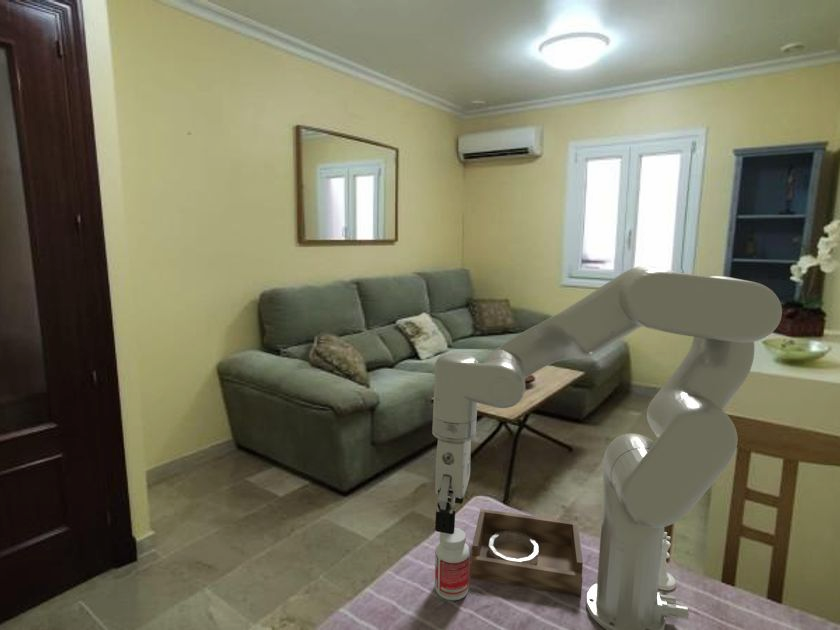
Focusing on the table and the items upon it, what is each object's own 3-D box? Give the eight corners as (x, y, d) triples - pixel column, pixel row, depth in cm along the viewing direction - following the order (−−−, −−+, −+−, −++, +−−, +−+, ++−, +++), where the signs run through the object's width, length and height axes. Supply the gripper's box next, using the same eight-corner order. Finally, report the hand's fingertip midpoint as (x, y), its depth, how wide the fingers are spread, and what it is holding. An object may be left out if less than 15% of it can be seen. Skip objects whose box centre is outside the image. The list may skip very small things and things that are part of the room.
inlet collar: (537, 543, 101) (538, 534, 101) (537, 574, 92) (538, 564, 91) (491, 536, 103) (491, 528, 103) (486, 565, 94) (487, 556, 94)
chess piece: (674, 594, 88) (680, 544, 87) (645, 584, 91) (649, 535, 89) (676, 578, 93) (681, 530, 91) (647, 569, 95) (652, 522, 93)
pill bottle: (475, 593, 88) (477, 537, 86) (448, 607, 85) (449, 549, 83) (454, 573, 93) (455, 520, 91) (428, 585, 90) (429, 531, 88)
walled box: (575, 548, 101) (577, 522, 100) (581, 596, 88) (583, 566, 87) (479, 534, 106) (480, 508, 105) (470, 577, 92) (471, 548, 91)
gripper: (468, 449, 75) (463, 549, 78) (481, 411, 91) (476, 495, 94) (421, 442, 77) (417, 541, 79) (442, 406, 93) (438, 489, 96)
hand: (449, 516), depth 87 cm, fingers open, 9 cm apart
